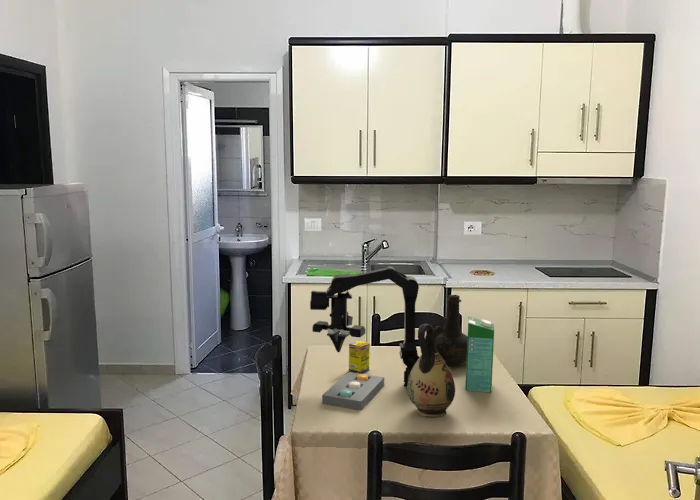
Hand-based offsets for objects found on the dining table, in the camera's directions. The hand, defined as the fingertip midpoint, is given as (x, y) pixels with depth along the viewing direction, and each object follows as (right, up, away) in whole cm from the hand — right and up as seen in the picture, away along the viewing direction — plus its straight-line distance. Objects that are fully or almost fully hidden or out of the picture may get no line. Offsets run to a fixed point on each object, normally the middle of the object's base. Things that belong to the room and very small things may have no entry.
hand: (338, 351), depth 219 cm
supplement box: (+8, -10, +16) cm, 20 cm away
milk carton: (+51, -13, 0) cm, 52 cm away
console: (+6, -13, -8) cm, 17 cm away
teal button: (+3, -14, -15) cm, 21 cm away
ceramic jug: (+30, -16, -23) cm, 41 cm away
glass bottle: (+45, -9, +26) cm, 53 cm away
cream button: (+6, -13, -8) cm, 16 cm away
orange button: (+9, -12, -1) cm, 15 cm away
